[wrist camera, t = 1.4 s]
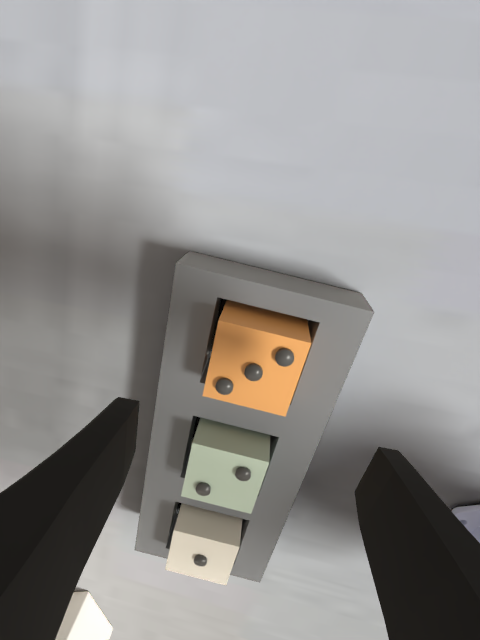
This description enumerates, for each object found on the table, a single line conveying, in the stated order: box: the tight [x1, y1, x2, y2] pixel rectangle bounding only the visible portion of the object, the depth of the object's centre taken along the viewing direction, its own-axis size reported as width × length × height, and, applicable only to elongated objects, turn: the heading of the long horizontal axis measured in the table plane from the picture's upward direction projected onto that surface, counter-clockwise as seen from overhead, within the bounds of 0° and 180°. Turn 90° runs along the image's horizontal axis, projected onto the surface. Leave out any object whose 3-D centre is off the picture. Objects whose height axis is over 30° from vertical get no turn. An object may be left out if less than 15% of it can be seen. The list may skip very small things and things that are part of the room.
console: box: [135, 251, 374, 582], centre depth 20 cm, size 21×9×2 cm, turn 168°
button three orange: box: [202, 300, 311, 417], centre depth 16 cm, size 4×4×3 cm
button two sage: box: [181, 418, 270, 514], centre depth 19 cm, size 4×4×3 cm
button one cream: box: [165, 503, 243, 585], centre depth 22 cm, size 4×4×3 cm
